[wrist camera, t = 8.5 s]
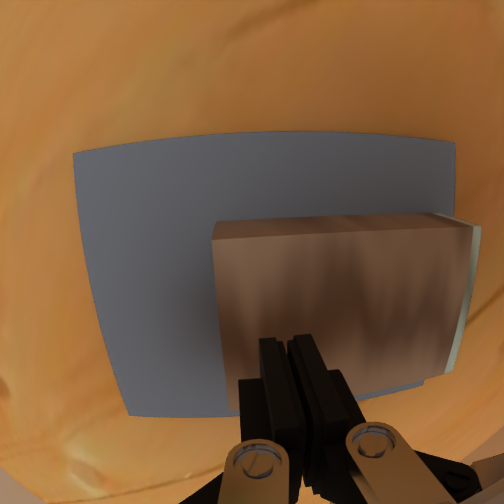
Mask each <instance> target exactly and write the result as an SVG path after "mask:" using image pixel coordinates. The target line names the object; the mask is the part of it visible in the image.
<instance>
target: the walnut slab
mask: <svg viewBox="0 0 504 504" xmlns="http://www.w3.org/2000/svg"><path fill="white" fill-rule="evenodd" d="M481 230H482V226H479V225H476V224H473V223H470V222H467V221H464V220H461V219H458V218H455V217H451V216H448V215H445V214H442V213H406V214H366V215H336V216H312V217H290V218H270V219H252V220H236V221H220V222H216V224H215V228H214V232H213V236H212V252H213V263H214V275H215V286H216V296H217V307H218V317H219V326H220V336H221V345H222V354H223V363H224V371H225V379H226V388H227V396H228V403H229V411H239V410H240V409H239V390H238V380H239V379H253V378H260V363H259V338H270V337H276V339H277V341H283V343H284V346H285V350H286V353H287V341H288V340H293V336H294V335H301V334H311V335H312V337H313V339H314V341H315V343H316V346H317V348H318V350H319V352H320V354H321V356H322V359H323V361H324V363H325V365H326V367H327V370H333V369H339V370H340V371H341V372H342V374H343V376H344V378H345V380H346V382H347V384H348V386H349V388H350V390H351V392H352V394H353V396H357V395H362V394H367V393H372V392H377V391H381V390H385V389H390V388H394V387H398V386H402V385H406V384H410V383H414V382H417V381H421V380H425V379H428V378H432V377H435V376H438V375H442V374H445V373H448V372H451V371H452V370H453V367H454V363H455V360H456V357H457V354H458V350H459V347H460V343H461V339H462V336H463V332H464V328H465V324H466V320H467V316H468V311H469V307H470V302H471V297H472V292H473V287H474V281H475V275H476V269H477V263H478V255H479V248H480V239H481Z"/></svg>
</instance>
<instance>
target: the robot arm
mask: <svg viewBox="0 0 504 504" xmlns="http://www.w3.org/2000/svg"><path fill="white" fill-rule="evenodd" d="M259 363H260V378H253V379H239V380H238V390H239V409H240V427H241V443H240V444H238V445H236V446H235V447H234V448H233V449H232V450H231V451H230V452H229V453H228V456H227V458H226V462H225V467H224V472H222V473H221V474H220V475H218V476H217V477H216V478H214V479H213V480H212V481H210V482H209V483H208V484H206V485H205V486H203V487H202V488H201V489H199V490H198V491H196V492H195V493H194V494H192V495H191V496H189V497H188V498H186V499H185V500H183V501H182V502H180V503H179V504H295V503H296V502H297V501H298V496H299V489H300V487H301V480H302V476H303V480H304V484H305V487H310V486H312V490H313V494H314V495H316V494H320V496H321V498H324V499H326V500H328V501H330V504H504V453H502V454H499V455H496V456H493V457H489V458H486V459H482V460H479V461H475V462H473V463H472V464H471V465H470V466H468V465H465V464H463V463H459V462H455V461H451V460H448V459H444V458H440V457H436V456H433V455H429V454H426V453H422V452H419V451H416V450H413V449H412V448H411V447H410V446H409V444H408V443H407V442H406V441H405V440H404V438H403V437H402V436H401V435H400V433H399V432H398V431H397V430H396V429H394V428H393V427H392V426H390V425H388V424H386V423H381V422H366V420H365V418H364V416H363V414H362V412H361V410H360V408H359V406H358V404H357V402H356V400H355V398H354V396H353V394H352V392H351V390H350V388H349V386H348V384H347V382H346V380H345V378H344V376H343V374H342V372H341V371H340V370H339V369H333V370H327V367H326V365H325V363H324V361H323V359H322V356H321V354H320V352H319V350H318V348H317V346H316V343H315V341H314V339H313V337H312V335H311V334H301V335H294V336H293V340H288V341H287V353H286V350H285V346H284V343H283V341H277V339H276V337H270V338H259Z"/></svg>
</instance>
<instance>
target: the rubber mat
mask: <svg viewBox="0 0 504 504" xmlns="http://www.w3.org/2000/svg"><path fill="white" fill-rule="evenodd" d="M73 163H74V177H75V188H76V198H77V207H78V215H79V223H80V230H81V236H82V243H83V249H84V255H85V260H86V266H87V271H88V276H89V281H90V286H91V290H92V295H93V299H94V303H95V308H96V312H97V316H98V320H99V324H100V327H101V331H102V335H103V338H104V342H105V346H106V349H107V352H108V356H109V359H110V362H111V365H112V369H113V372H114V375H115V378H116V381H117V384H118V387H119V389H120V392H121V395H122V398H123V401H124V403H125V406H126V409H127V411H128V414H129V416H143V417H171V418H203V417H232V416H240V410H239V411H229V403H228V396H227V388H226V379H225V371H224V363H223V354H222V345H221V336H220V326H219V317H218V307H217V296H216V286H215V275H214V263H213V252H212V236H213V232H214V228H215V224H216V222H220V221H236V220H252V219H270V218H290V217H312V216H336V215H366V214H406V213H442V214H445V215H448V216H451V217H454V204H455V143H454V142H447V141H440V140H432V139H424V138H415V137H405V136H394V135H382V134H368V133H349V132H317V131H278V132H245V133H226V134H211V135H199V136H188V137H178V138H168V139H160V140H151V141H144V142H137V143H130V144H123V145H117V146H110V147H104V148H99V149H93V150H88V151H83V152H77V153H73ZM423 383H424V380H421V381H417V382H414V383H410V384H406V385H402V386H398V387H394V388H390V389H385V390H381V391H377V392H372V393H367V394H362V395H357V396H354V398H355V400H356V401H359V400H364V399H369V398H373V397H378V396H382V395H387V394H391V393H395V392H399V391H403V390H407V389H410V388H414V387H418V386H421V385H423Z"/></svg>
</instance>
